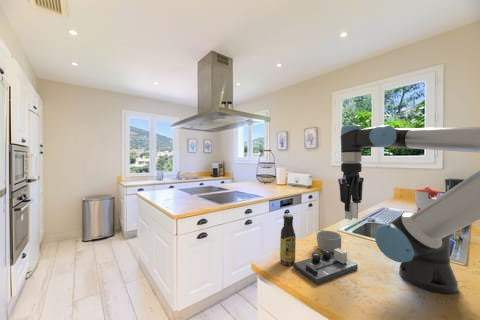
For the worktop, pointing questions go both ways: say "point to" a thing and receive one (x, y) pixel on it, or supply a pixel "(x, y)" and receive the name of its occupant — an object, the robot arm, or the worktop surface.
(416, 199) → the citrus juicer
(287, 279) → the worktop surface
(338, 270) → the board
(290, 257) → the sauce bottle
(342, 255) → the fader
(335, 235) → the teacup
